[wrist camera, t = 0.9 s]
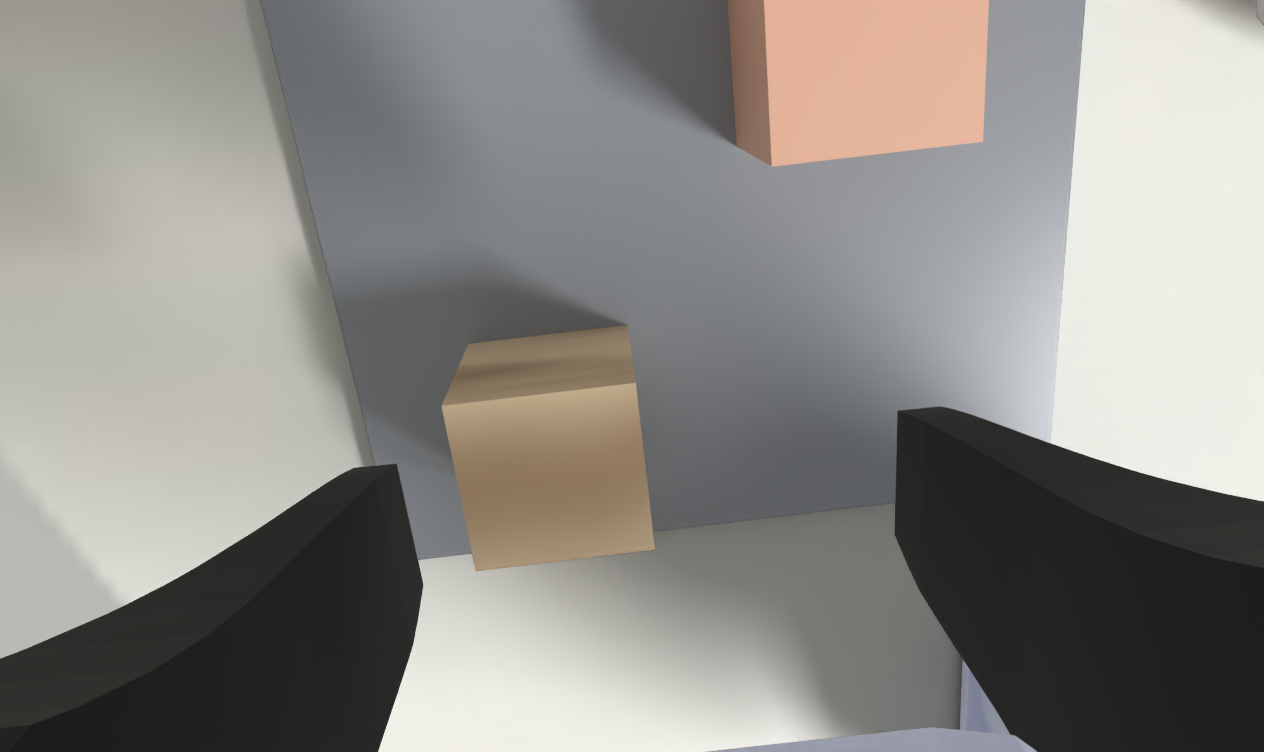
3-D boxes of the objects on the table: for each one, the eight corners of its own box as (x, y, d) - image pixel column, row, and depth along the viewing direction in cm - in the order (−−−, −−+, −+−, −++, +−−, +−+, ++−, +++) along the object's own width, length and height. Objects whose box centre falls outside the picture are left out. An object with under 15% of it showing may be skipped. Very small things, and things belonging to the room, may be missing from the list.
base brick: (907, 126, 19) (983, 141, 16) (736, 146, 19) (771, 166, 16) (908, -66, 18) (993, -100, 14) (724, -45, 18) (760, -73, 14)
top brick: (643, 467, 22) (654, 549, 18) (495, 485, 22) (475, 571, 18) (627, 325, 21) (635, 382, 17) (468, 343, 21) (441, 406, 17)
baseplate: (1035, 474, 23) (1046, 484, 23) (403, 550, 23) (398, 562, 23) (1084, -188, 18) (1101, -196, 17) (247, -91, 18) (236, -96, 17)
